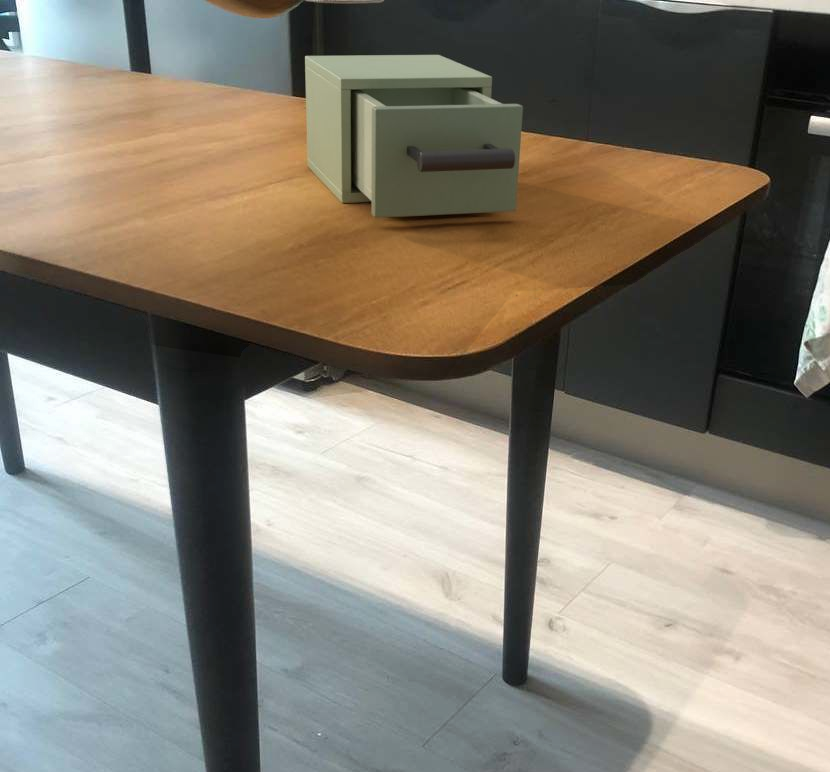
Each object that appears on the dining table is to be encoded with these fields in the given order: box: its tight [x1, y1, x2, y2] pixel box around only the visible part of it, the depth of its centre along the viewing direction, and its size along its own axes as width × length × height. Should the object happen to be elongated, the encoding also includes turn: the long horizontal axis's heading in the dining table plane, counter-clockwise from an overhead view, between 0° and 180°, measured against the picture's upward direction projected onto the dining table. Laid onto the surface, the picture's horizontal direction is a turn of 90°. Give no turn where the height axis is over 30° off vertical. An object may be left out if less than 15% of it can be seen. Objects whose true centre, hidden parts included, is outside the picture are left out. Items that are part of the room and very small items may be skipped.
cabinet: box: [304, 54, 493, 204], centre depth 95 cm, size 15×13×10 cm
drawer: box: [350, 88, 524, 219], centre depth 85 cm, size 18×11×8 cm, turn 16°
